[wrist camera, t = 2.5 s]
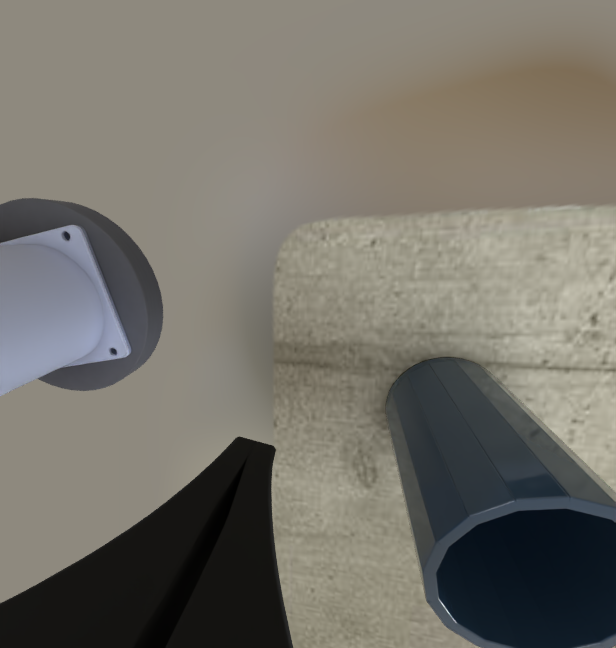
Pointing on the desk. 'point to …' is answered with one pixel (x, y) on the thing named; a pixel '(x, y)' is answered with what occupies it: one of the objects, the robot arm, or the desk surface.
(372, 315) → the desk surface
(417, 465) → the tumbler
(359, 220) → the desk surface
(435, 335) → the desk surface
